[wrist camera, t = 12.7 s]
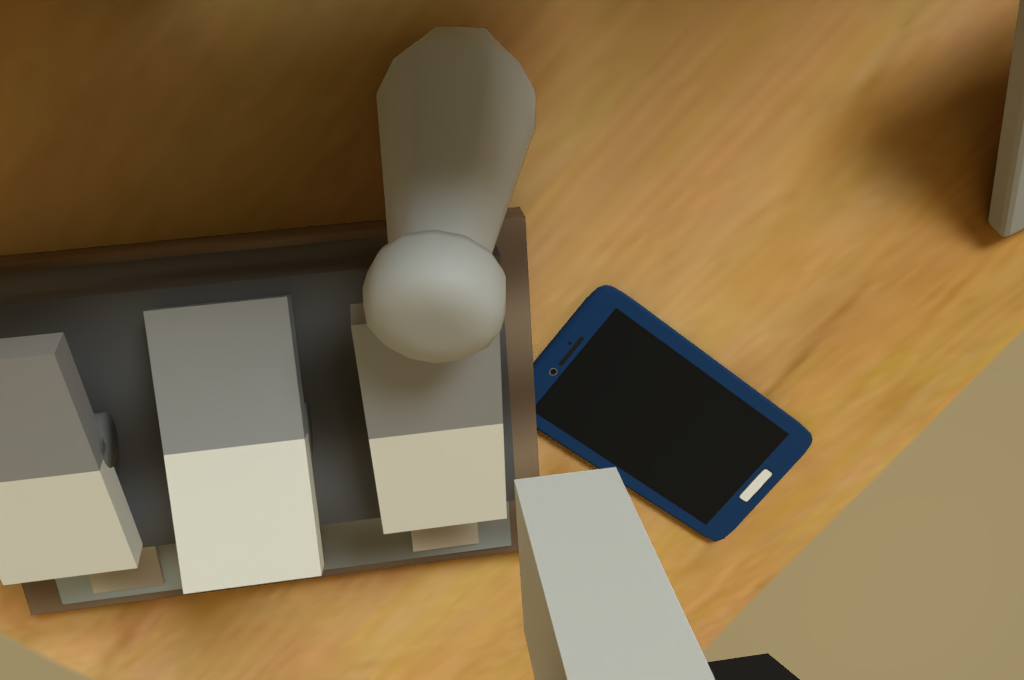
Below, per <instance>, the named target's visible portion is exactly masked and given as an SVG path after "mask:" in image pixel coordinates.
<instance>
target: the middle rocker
mask: <svg viewBox="0 0 1024 680" xmlns="http://www.w3.org/2000/svg"><path fill="white" fill-rule="evenodd" d="M143 313H144V320H145V327H146V335H147V342H148V349H149V356H150V363H151V370H152V377H153V384H154V391H155V398H156V405H157V412H158V419H159V426H160V433H161V440H162V447H163V454H164V461H165V468H166V475H167V482H168V489H169V496H170V504H171V511H172V518H173V525H174V532H175V539H176V546H177V553H178V560H179V567H180V574H181V581H182V588H183V594H188V593H196V592H203V591H211V590H218V589H226V588H233V587H241V586H249V585H256V584H264V583H271V582H279V581H286V580H294V579H302V578H309V577H317V576H322V572H323V568H324V558H323V550H322V542H321V534H320V526H319V518H318V509H317V501H316V493H315V485H314V477H313V469H312V461H311V457H312V455H313V433H312V424H311V417H310V411H309V407H308V404H307V403H304V396H303V388H302V380H301V372H300V364H299V356H298V347H297V339H296V331H295V323H294V315H293V307H292V299H291V295H283V296H273V297H263V298H253V299H244V300H234V301H224V302H214V303H204V304H194V305H184V306H175V307H165V308H155V309H150V310H146V311H143Z"/></svg>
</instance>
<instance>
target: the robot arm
mask: <svg viewBox="0 0 1024 680" xmlns="http://www.w3.org/2000/svg"><path fill="white" fill-rule="evenodd" d="M514 487H515V502H516V517H517V532H518V547H519V562H520V577H521V592H522V607H523V622H524V632H525V637H526V641H527V646H528V650H529V655H530V659H531V664H532V668H533V673H534V677H535V680H800V679H798V678H797V677H796V676H795V675H793V674H792V673H791V672H790V671H789V670H787V669H786V668H785V667H784V666H783V665H781V664H780V663H779V662H778V661H776V660H775V659H774V658H773V657H771V656H770V655H769V654H768V653H767V654H761V655H754V656H747V657H740V658H733V659H727V660H720V661H713V662H707V661H706V659H705V657H704V654H703V652H702V650H701V648H700V646H699V644H698V642H697V639H696V637H695V635H694V633H693V631H692V629H691V627H690V624H689V622H688V620H687V618H686V616H685V614H684V612H683V610H682V607H681V605H680V603H679V601H678V599H677V597H676V595H675V592H674V590H673V588H672V586H671V584H670V582H669V580H668V577H667V575H666V573H665V571H664V569H663V567H662V565H661V562H660V560H659V558H658V556H657V554H656V552H655V550H654V547H653V545H652V543H651V541H650V539H649V537H648V535H647V532H646V530H645V528H644V526H643V524H642V522H641V520H640V517H639V515H638V513H637V511H636V509H635V507H634V505H633V503H632V500H631V498H630V496H629V494H628V492H627V490H626V488H625V485H624V483H623V481H622V479H621V477H620V475H619V473H618V470H617V468H616V467H612V468H604V469H595V470H587V471H579V472H571V473H563V474H555V475H547V476H539V477H531V478H523V479H515V480H514Z"/></svg>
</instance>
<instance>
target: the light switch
mask: <svg viewBox="0 0 1024 680" xmlns="http://www.w3.org/2000/svg"><path fill="white" fill-rule="evenodd" d="M988 223H989V224H990V225H991V226H992V227H993V228H994V229H995V230H996V231H997V232H998V233H999V234H1000V235H1001V236H1003V237H1008V236H1010V235H1012V234H1014V233H1016V232H1018V231H1020V230H1023V229H1024V0H1020V3H1019V10H1018V17H1017V24H1016V31H1015V38H1014V45H1013V52H1012V59H1011V66H1010V73H1009V80H1008V87H1007V94H1006V101H1005V108H1004V115H1003V122H1002V129H1001V136H1000V143H999V150H998V157H997V164H996V170H995V177H994V184H993V191H992V198H991V205H990V212H989V219H988Z"/></svg>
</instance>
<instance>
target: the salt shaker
mask: <svg viewBox="0 0 1024 680" xmlns="http://www.w3.org/2000/svg"><path fill="white" fill-rule="evenodd" d="M376 96H377V109H378V122H379V135H380V147H381V160H382V173H383V185H384V198H385V211H386V223H387V236H388V244H386V245H385V246H383V247H382V248H381V250H380V251H379V252H378V254H377V256H376V257H375V259H374V261H373V263H372V264H371V266H370V268H369V270H368V272H367V274H366V278H365V281H364V285H363V306H364V311H365V317H366V322H367V326H368V327H369V328H370V329H371V331H372V332H373V333H374V334H375V335H376V336H377V337H378V339H379V340H380V341H381V342H382V343H383V344H384V345H386V346H387V347H389V348H390V349H392V350H394V351H396V352H398V353H400V354H402V355H404V356H406V357H408V358H410V359H415V360H420V361H426V362H431V363H443V362H451V361H460V360H462V359H464V358H466V357H468V356H471V355H473V354H475V353H477V352H479V351H481V350H483V349H485V348H488V347H489V345H490V344H491V343H492V341H493V340H494V339H495V337H496V336H497V334H498V333H499V332H500V330H501V328H502V324H503V321H504V317H505V310H506V276H505V274H504V271H503V269H502V267H501V266H500V265H499V263H498V262H497V260H496V259H495V257H494V256H493V255H492V252H493V250H494V247H495V244H496V241H497V238H498V235H499V232H500V229H501V226H502V223H503V220H504V217H505V214H506V211H507V209H508V206H509V203H510V200H511V197H512V194H513V191H514V188H515V185H516V182H517V179H518V176H519V173H520V170H521V168H522V165H523V162H524V159H525V156H526V153H527V150H528V147H529V144H530V141H531V138H532V135H533V132H534V129H535V115H536V95H535V90H534V88H533V86H532V84H531V82H530V80H529V78H528V77H527V75H526V73H525V71H524V69H523V67H522V65H521V63H520V62H519V61H518V60H517V59H516V58H515V57H514V56H513V55H512V54H511V53H509V52H508V51H507V50H506V49H505V48H504V47H503V46H502V45H501V44H500V43H499V42H498V41H497V40H496V39H495V37H494V36H493V35H492V34H491V33H490V32H489V31H488V30H487V28H481V27H445V26H436V27H435V28H433V29H432V30H431V31H429V32H428V33H427V34H426V35H424V36H423V37H422V38H420V39H419V40H418V41H416V42H415V43H414V44H412V45H411V46H410V47H408V48H407V49H406V50H404V51H403V52H402V53H400V54H399V55H398V56H396V57H395V58H394V59H393V61H392V63H391V65H390V67H389V69H388V71H387V73H386V75H385V77H384V79H383V81H382V83H381V85H380V87H379V89H378V91H377V93H376Z"/></svg>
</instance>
